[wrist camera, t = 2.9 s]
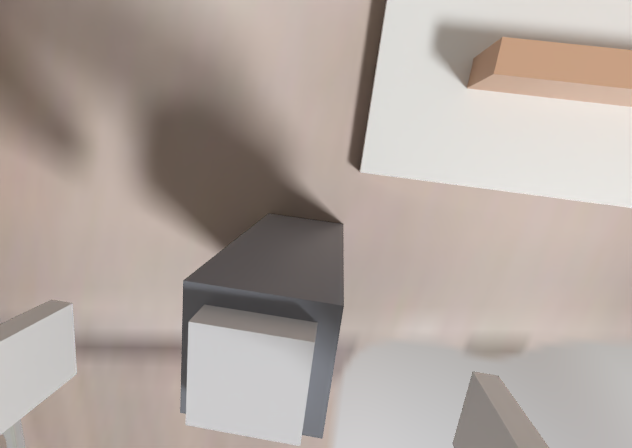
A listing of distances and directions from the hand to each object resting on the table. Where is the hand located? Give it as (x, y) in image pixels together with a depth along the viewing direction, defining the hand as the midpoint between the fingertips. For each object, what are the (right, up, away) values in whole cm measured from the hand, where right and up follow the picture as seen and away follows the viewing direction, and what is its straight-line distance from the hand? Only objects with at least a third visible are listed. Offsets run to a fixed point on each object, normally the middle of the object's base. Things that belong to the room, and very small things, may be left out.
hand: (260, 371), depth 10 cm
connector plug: (+1, +3, +11) cm, 11 cm away
